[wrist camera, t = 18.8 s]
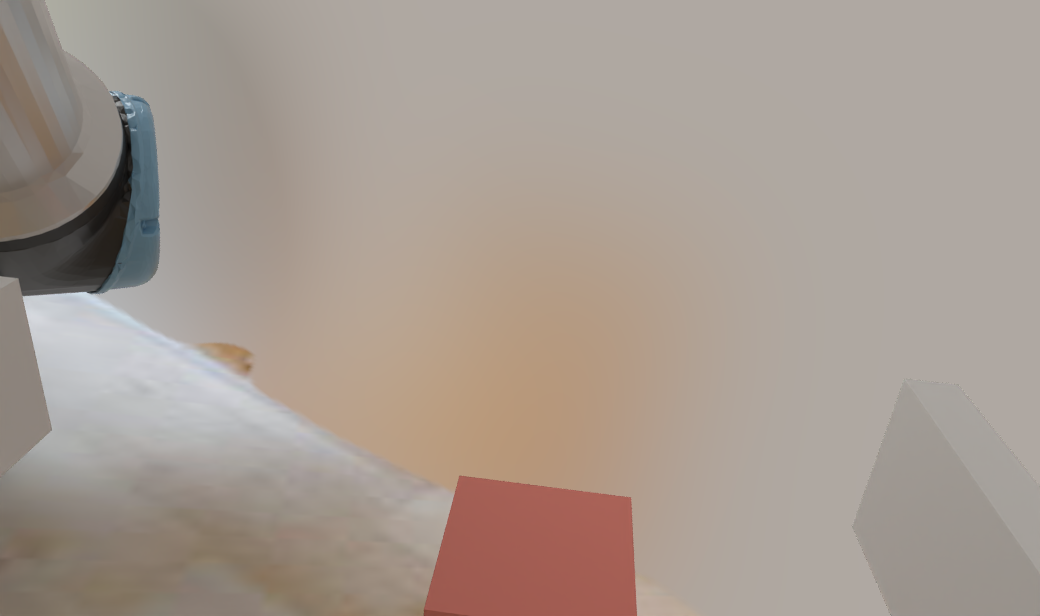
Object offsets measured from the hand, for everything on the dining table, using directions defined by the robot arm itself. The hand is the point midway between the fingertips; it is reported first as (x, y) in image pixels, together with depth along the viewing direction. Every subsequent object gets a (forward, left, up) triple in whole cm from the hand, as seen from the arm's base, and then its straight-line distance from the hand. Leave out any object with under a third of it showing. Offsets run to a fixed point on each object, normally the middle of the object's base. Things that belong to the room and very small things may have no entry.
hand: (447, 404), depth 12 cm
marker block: (-10, +2, -25) cm, 27 cm away
